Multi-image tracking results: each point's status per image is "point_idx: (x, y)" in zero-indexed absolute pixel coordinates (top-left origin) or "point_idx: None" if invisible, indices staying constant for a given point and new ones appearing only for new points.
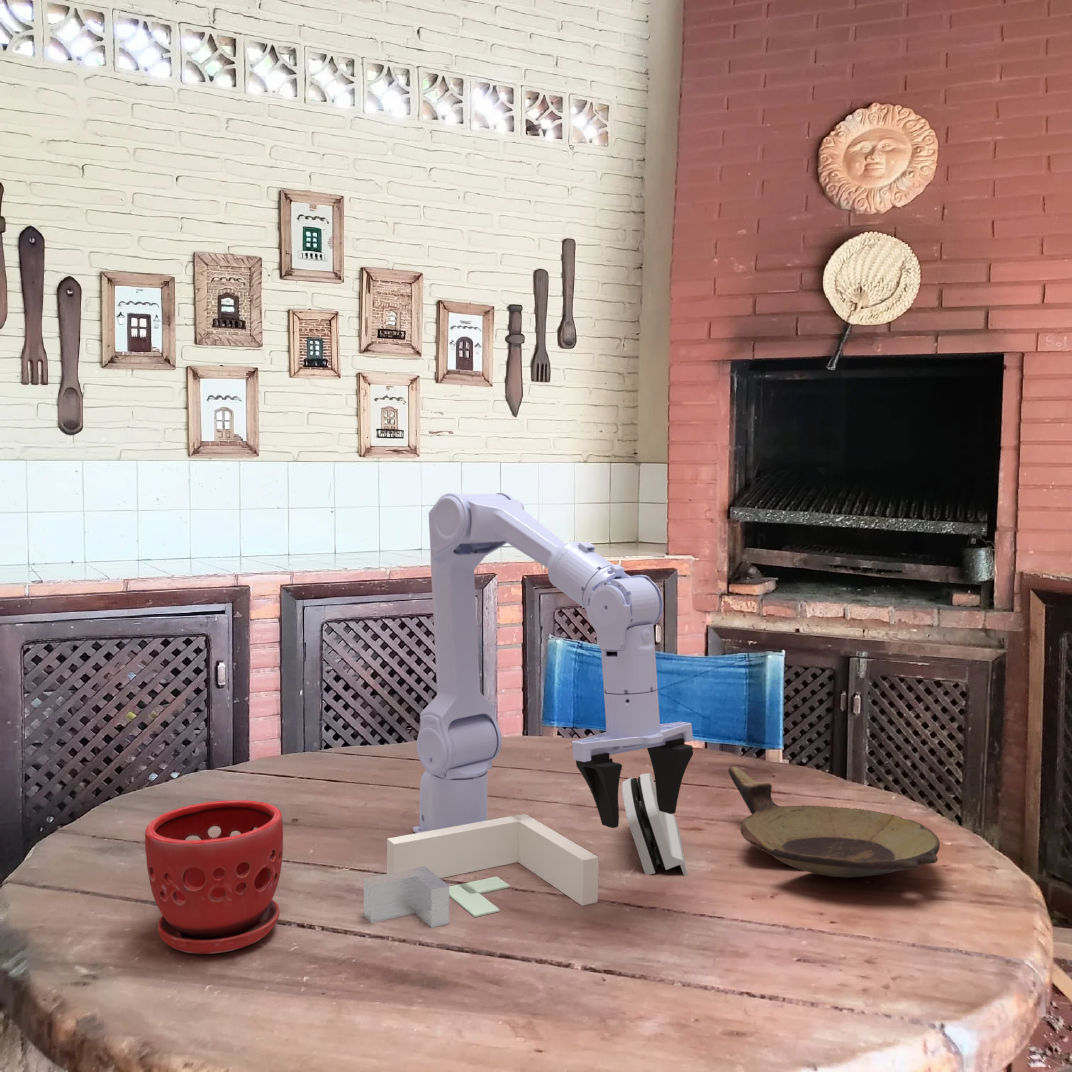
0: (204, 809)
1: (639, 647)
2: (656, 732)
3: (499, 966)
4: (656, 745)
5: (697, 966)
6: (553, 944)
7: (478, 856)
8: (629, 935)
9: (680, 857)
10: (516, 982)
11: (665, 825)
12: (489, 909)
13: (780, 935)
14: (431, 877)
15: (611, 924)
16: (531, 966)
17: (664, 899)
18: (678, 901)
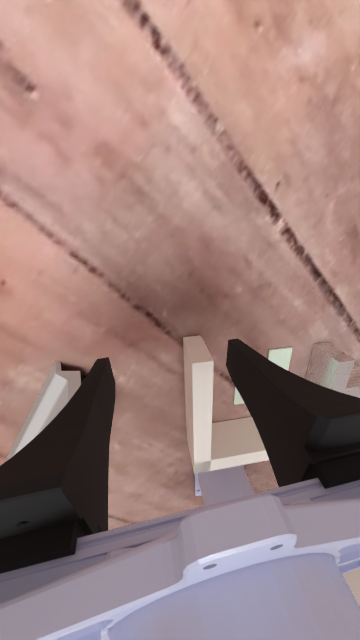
0: None
1: None
2: (186, 596)
3: (332, 258)
4: (119, 531)
5: (173, 154)
6: (270, 275)
7: (242, 429)
8: (196, 260)
9: (55, 379)
10: (342, 223)
11: None
12: (276, 353)
13: (18, 171)
14: (338, 382)
15: (198, 290)
16: (312, 245)
17: (114, 319)
18: (101, 309)
